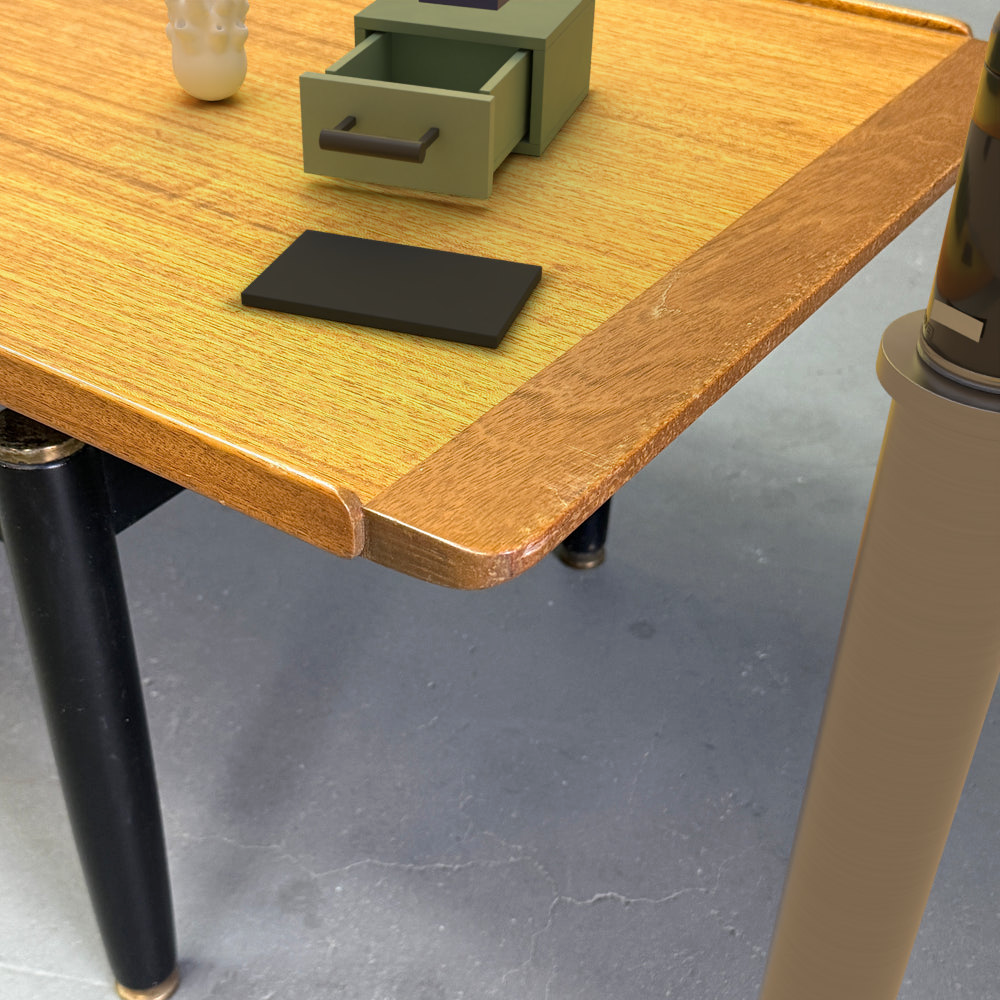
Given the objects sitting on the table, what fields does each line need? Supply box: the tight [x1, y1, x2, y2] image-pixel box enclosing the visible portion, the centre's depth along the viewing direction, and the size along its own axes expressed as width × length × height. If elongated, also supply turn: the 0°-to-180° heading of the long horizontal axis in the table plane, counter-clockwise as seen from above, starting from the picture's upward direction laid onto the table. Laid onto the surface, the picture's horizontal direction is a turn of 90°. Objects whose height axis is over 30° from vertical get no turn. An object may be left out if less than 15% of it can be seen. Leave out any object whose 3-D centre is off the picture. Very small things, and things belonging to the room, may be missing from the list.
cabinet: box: [353, 0, 596, 157], centre depth 110 cm, size 16×15×9 cm
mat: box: [240, 228, 543, 349], centre depth 85 cm, size 16×10×1 cm, turn 73°
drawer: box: [298, 31, 534, 201], centre depth 99 cm, size 19×14×7 cm
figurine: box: [164, 0, 250, 102], centre depth 110 cm, size 7×7×12 cm
